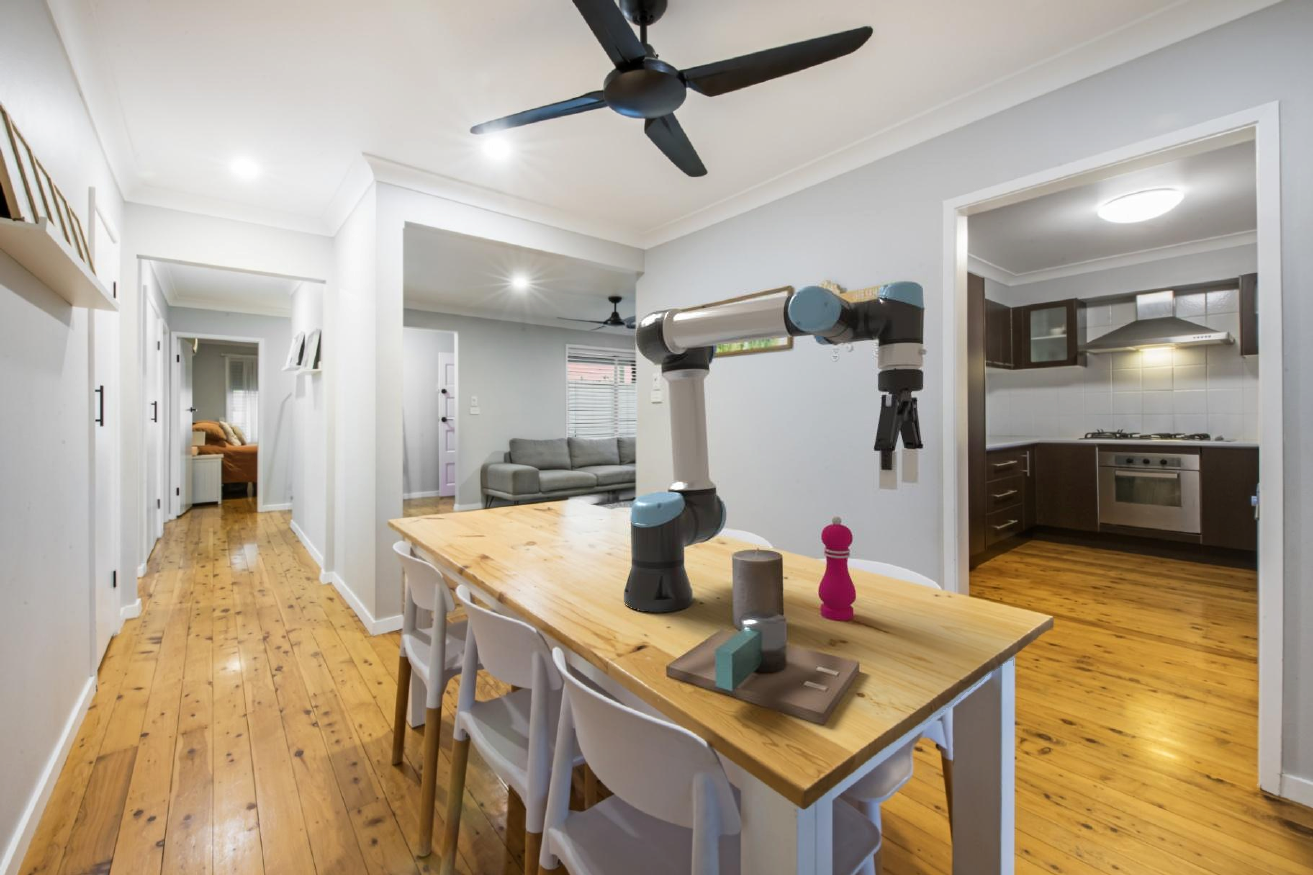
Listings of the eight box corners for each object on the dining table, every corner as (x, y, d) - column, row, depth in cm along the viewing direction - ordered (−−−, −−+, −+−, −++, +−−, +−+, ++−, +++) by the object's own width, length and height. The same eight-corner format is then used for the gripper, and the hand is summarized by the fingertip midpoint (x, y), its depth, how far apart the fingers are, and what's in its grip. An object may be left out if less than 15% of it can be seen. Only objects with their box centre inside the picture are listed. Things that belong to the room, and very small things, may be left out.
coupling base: (666, 675, 80) (666, 664, 80) (721, 637, 95) (721, 628, 95) (823, 725, 67) (822, 712, 66) (859, 671, 81) (859, 660, 81)
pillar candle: (791, 622, 102) (790, 545, 102) (772, 639, 94) (771, 555, 94) (745, 614, 107) (744, 540, 107) (723, 629, 99) (722, 549, 99)
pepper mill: (849, 624, 101) (849, 520, 101) (813, 616, 105) (812, 517, 105) (860, 614, 107) (860, 515, 106) (825, 607, 111) (825, 512, 111)
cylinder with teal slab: (701, 690, 72) (700, 641, 72) (752, 648, 86) (751, 608, 86) (747, 705, 68) (747, 654, 68) (793, 659, 82) (793, 616, 82)
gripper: (902, 361, 84) (901, 493, 84) (939, 373, 103) (938, 481, 103) (855, 365, 89) (854, 490, 89) (898, 376, 108) (897, 479, 108)
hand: (899, 485), depth 96 cm, fingers open, 13 cm apart
